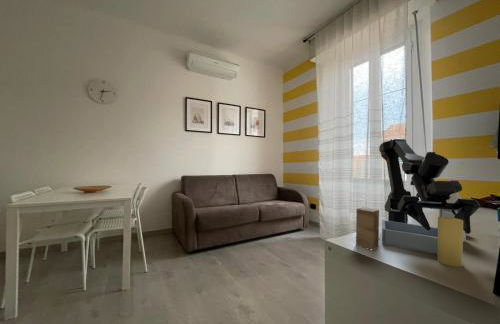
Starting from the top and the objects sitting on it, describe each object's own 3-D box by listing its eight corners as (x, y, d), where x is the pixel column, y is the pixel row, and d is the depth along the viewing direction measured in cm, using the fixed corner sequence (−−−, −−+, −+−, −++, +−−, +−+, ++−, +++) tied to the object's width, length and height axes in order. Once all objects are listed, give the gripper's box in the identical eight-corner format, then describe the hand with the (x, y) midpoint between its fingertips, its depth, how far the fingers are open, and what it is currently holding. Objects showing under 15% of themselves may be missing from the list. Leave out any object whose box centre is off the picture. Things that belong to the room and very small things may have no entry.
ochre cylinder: (451, 267, 54) (452, 221, 54) (432, 258, 59) (433, 216, 59) (467, 266, 55) (468, 221, 55) (447, 257, 60) (448, 216, 60)
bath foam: (450, 235, 79) (451, 183, 79) (471, 242, 72) (472, 185, 72) (433, 235, 79) (434, 183, 79) (453, 242, 72) (454, 185, 72)
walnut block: (362, 241, 71) (362, 206, 71) (378, 246, 68) (379, 209, 67) (355, 245, 68) (356, 208, 68) (372, 250, 64) (373, 211, 64)
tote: (382, 244, 69) (382, 229, 69) (381, 232, 81) (382, 220, 81) (454, 257, 60) (454, 240, 60) (442, 242, 72) (442, 228, 72)
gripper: (402, 170, 65) (420, 212, 55) (475, 171, 61) (511, 219, 50) (391, 191, 73) (406, 233, 62) (456, 194, 68) (484, 240, 57)
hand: (448, 231), depth 58 cm, fingers open, 9 cm apart
